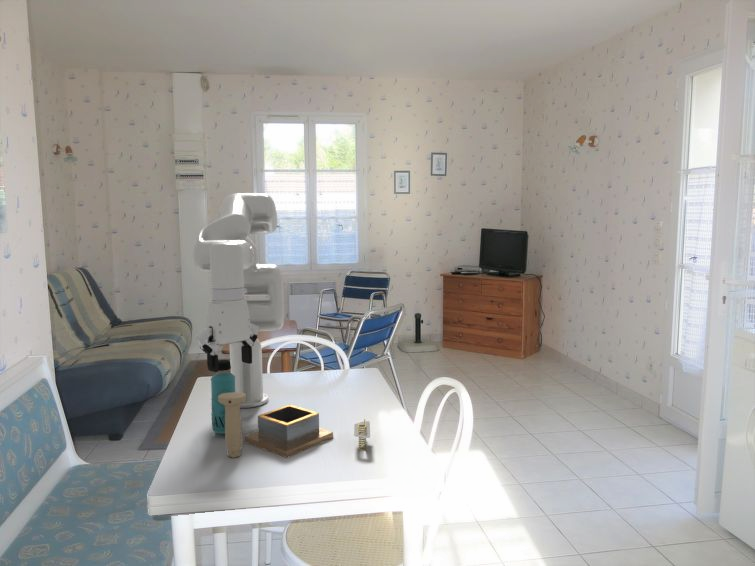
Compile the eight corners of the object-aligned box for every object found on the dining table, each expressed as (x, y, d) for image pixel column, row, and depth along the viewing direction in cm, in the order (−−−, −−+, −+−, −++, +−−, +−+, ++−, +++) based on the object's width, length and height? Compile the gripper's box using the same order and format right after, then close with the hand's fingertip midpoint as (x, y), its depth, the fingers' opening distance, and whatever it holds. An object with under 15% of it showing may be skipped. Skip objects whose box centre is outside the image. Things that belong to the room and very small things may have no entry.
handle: (245, 459, 144) (243, 398, 142) (218, 459, 144) (215, 398, 142) (249, 451, 149) (247, 392, 147) (223, 451, 148) (220, 392, 147)
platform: (337, 463, 142) (336, 436, 141) (339, 434, 160) (339, 410, 159) (387, 462, 142) (387, 435, 142) (384, 433, 160) (384, 410, 160)
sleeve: (244, 441, 155) (243, 416, 154) (290, 424, 167) (290, 400, 166) (286, 457, 145) (286, 430, 144) (333, 437, 157) (332, 412, 156)
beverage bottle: (208, 434, 160) (204, 360, 158) (231, 428, 164) (228, 356, 162) (219, 441, 155) (215, 365, 153) (242, 434, 159) (239, 360, 157)
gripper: (247, 290, 150) (249, 357, 152) (186, 298, 137) (189, 372, 139) (267, 292, 145) (269, 362, 147) (205, 300, 132) (209, 377, 134)
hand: (230, 366), depth 143 cm, fingers open, 9 cm apart
